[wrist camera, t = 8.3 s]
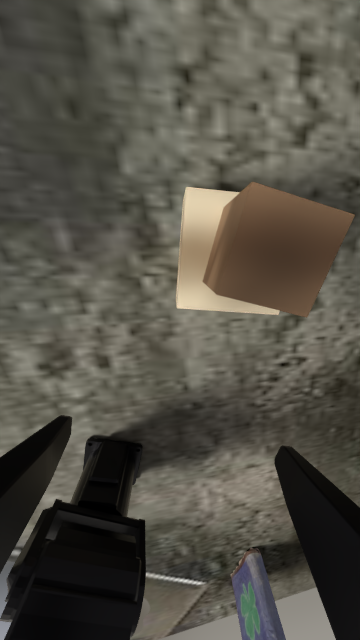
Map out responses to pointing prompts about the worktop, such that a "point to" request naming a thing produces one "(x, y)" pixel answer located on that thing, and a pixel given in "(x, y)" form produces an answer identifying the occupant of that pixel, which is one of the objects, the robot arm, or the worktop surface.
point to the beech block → (204, 253)
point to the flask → (255, 600)
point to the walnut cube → (274, 249)
